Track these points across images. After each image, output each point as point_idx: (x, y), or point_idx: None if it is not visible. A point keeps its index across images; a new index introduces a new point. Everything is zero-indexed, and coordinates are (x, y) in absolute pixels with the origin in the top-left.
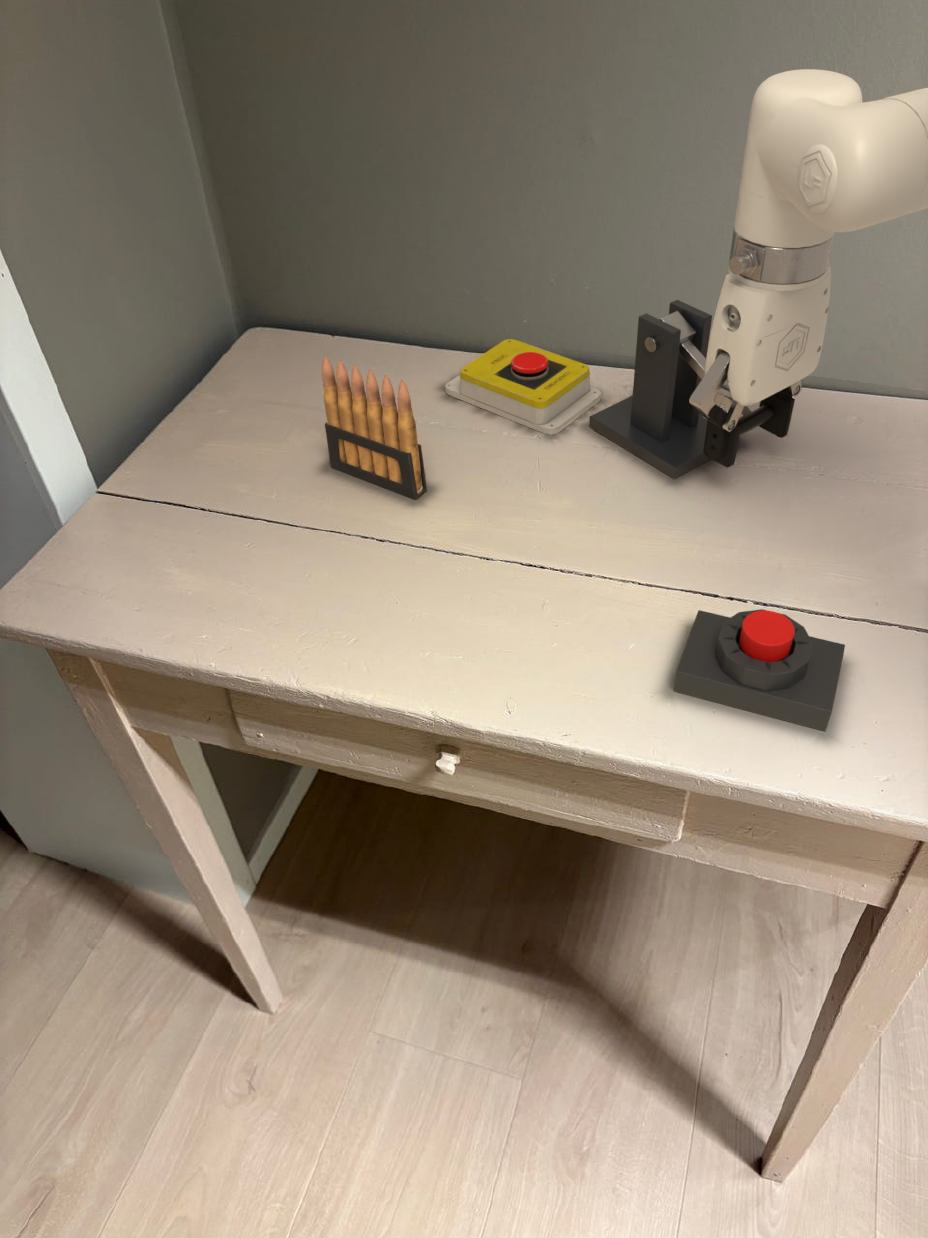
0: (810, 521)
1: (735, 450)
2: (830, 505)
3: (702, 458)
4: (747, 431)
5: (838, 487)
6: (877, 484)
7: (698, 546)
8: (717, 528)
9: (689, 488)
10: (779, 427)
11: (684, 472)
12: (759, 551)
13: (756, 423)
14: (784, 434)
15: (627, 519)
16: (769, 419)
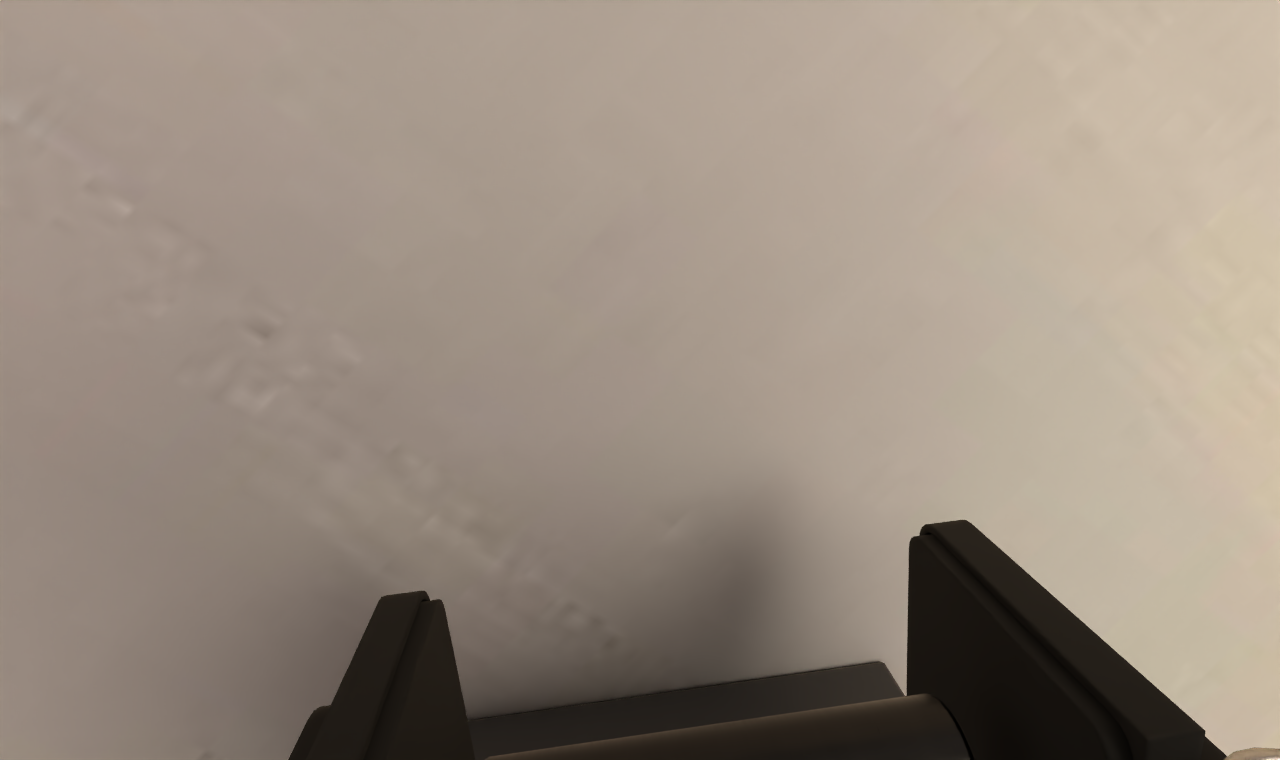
0: (609, 50)
1: (1011, 586)
2: (410, 91)
3: (717, 708)
4: (802, 714)
5: (252, 190)
6: (12, 72)
7: (1176, 238)
8: (1011, 291)
9: (879, 581)
10: (432, 664)
11: (824, 673)
12: (1006, 24)
13: (714, 754)
14: (415, 600)
15: (1227, 549)
16: (529, 754)
